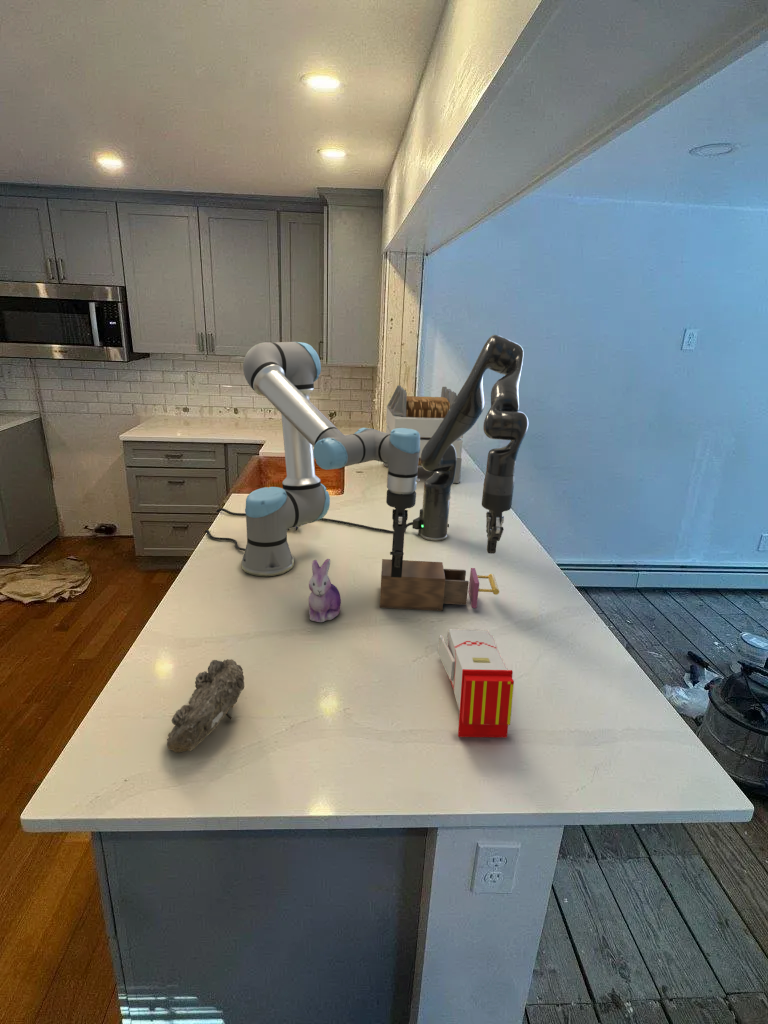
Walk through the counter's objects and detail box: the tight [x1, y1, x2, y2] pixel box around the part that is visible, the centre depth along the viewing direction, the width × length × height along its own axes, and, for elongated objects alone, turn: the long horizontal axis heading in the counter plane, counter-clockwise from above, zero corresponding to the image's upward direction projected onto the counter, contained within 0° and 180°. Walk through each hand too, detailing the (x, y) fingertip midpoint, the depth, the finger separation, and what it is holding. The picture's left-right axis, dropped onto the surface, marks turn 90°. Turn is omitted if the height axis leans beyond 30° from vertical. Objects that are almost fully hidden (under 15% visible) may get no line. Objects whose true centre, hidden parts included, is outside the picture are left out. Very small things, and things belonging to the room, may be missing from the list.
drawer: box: [443, 567, 500, 609], centre depth 153 cm, size 21×9×8 cm, turn 88°
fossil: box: [166, 658, 245, 754], centre depth 106 cm, size 22×10×15 cm
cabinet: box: [379, 558, 445, 612], centre depth 153 cm, size 17×10×9 cm, turn 88°
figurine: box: [308, 558, 342, 623], centre depth 143 cm, size 9×10×15 cm
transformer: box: [382, 384, 464, 484], centre depth 268 cm, size 34×33×41 cm
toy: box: [437, 628, 515, 738], centre depth 117 cm, size 12×13×30 cm
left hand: (396, 565), depth 152 cm, fingers open, 13 cm apart
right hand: (490, 552), depth 150 cm, fingers closed
